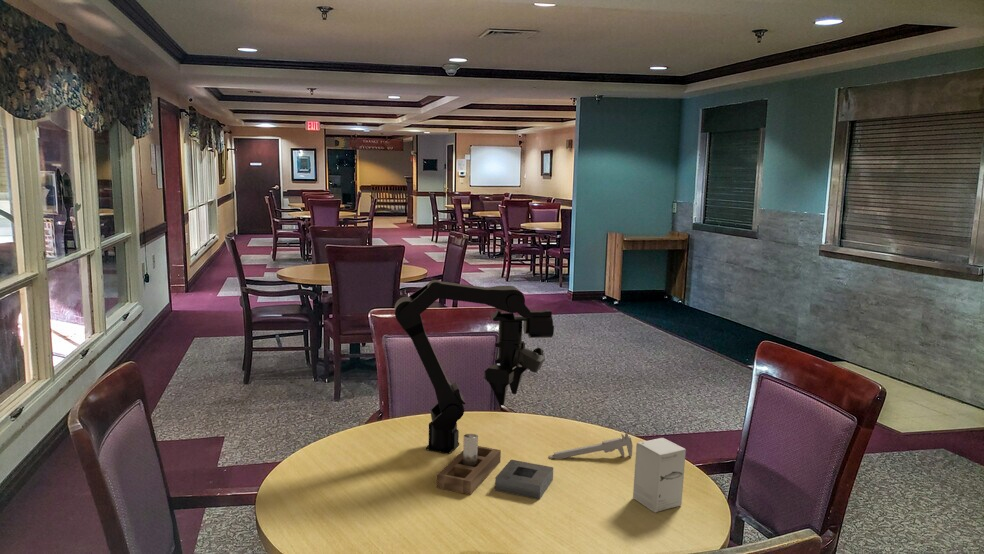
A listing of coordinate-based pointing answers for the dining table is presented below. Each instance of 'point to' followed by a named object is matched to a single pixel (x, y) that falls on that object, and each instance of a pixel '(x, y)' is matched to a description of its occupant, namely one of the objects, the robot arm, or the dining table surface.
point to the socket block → (524, 479)
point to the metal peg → (470, 450)
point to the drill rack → (468, 471)
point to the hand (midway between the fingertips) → (508, 399)
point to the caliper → (598, 448)
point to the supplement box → (659, 474)
